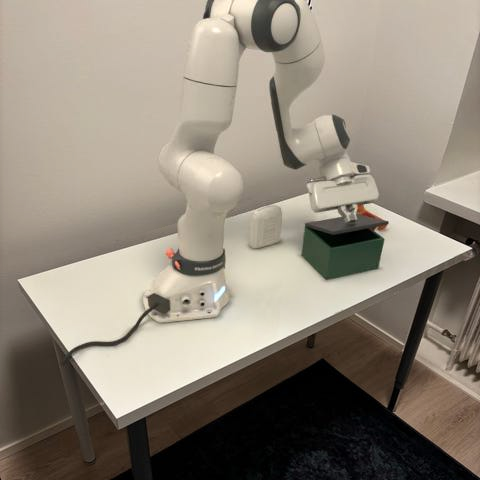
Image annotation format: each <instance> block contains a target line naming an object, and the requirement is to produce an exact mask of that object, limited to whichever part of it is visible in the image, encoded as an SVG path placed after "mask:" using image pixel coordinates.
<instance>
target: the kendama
mask: <svg viewBox="0 0 480 480" xmlns="http://www.w3.org/2000/svg"><path fill="white" fill-rule="evenodd" d="M357 207H358V208H357V212H356V213H360V212H367V213H369V214H371V215H373V216H375V217H376V219H381V220H384V219H383V218H382V217H379V216H377V215H375V214H374V213H372V212H370V211H368V210H366V208H365V205H359V206H357ZM346 210H347V211H349V212H351V211H352V210H351V211H350V210H349V207H347V208H346ZM387 226H388V225H383V226H377V227H376V228H377V229H379V231H384V230H385V229H386V228H387Z"/></svg>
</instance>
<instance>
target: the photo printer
mask: <svg viewBox="0 0 480 480" xmlns="http://www.w3.org/2000/svg"><path fill="white" fill-rule="evenodd" d="M282 220H283V210H282V207H280V206H279V205H277V204H276V205H275V204H270V205H264V206H261V207H259V208H257V209H255V210H254V211H252V212H251V214H250V225H249V246H250V248H251V249H261V248H263V247H267V246H270V245H275V244H277V243H280V241H281V233H282V232H281V231H282Z"/></svg>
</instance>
